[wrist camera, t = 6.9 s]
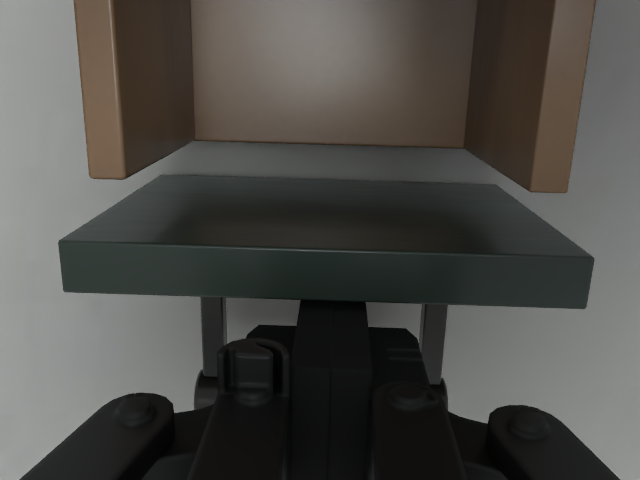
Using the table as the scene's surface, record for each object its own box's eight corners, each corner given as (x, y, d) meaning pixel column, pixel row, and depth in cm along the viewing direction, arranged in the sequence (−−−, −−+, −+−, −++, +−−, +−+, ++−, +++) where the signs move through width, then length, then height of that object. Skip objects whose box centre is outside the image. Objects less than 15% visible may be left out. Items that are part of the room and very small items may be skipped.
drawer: (478, 347, 22) (555, 498, 14) (169, 337, 22) (82, 481, 14) (546, -254, 16) (728, -524, 9) (137, -262, 16) (-28, -534, 9)
